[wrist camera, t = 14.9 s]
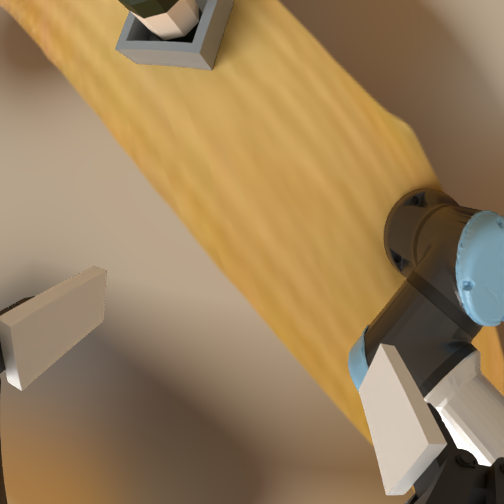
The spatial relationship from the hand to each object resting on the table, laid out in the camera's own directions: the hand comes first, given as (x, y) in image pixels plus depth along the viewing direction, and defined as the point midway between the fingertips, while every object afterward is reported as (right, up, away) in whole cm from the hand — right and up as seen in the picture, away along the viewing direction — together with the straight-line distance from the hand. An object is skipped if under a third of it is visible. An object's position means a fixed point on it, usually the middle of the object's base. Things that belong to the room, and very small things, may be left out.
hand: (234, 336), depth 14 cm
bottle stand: (-11, +41, +30) cm, 52 cm away
